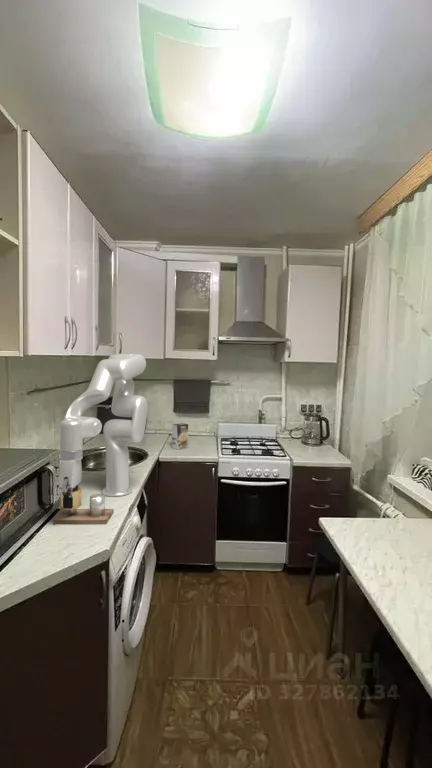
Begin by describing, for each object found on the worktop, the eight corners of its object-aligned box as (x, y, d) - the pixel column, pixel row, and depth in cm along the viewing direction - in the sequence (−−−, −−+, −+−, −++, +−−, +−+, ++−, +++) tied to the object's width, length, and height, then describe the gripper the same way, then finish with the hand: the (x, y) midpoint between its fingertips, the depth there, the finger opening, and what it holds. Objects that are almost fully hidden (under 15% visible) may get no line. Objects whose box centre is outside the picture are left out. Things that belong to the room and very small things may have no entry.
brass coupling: (66, 503, 135) (66, 487, 134) (82, 503, 135) (82, 487, 135) (59, 509, 129) (59, 492, 128) (77, 509, 129) (77, 492, 128)
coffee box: (177, 449, 243) (177, 425, 243) (171, 448, 248) (171, 424, 247) (188, 447, 250) (188, 424, 249) (182, 446, 254) (182, 423, 254)
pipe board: (64, 512, 137) (64, 508, 137) (113, 512, 137) (113, 508, 137) (53, 524, 127) (53, 520, 127) (106, 524, 127) (106, 520, 127)
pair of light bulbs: (70, 511, 135) (70, 492, 134) (106, 511, 135) (106, 492, 135) (64, 517, 129) (64, 497, 129) (102, 517, 130) (102, 497, 129)
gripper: (69, 449, 140) (69, 496, 140) (50, 460, 122) (50, 514, 123) (89, 449, 140) (89, 496, 140) (73, 460, 122) (73, 514, 123)
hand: (71, 504), depth 132 cm, fingers closed on brass coupling, 6 cm apart
